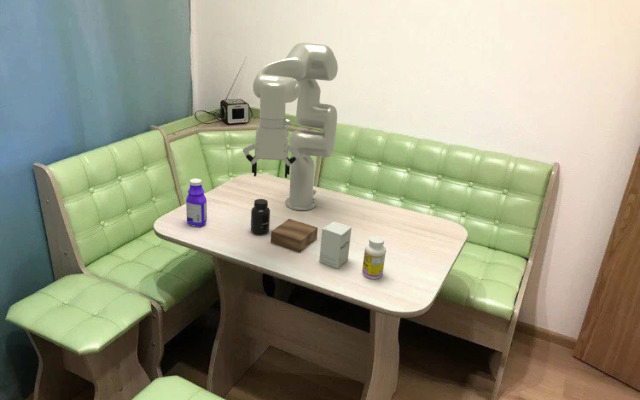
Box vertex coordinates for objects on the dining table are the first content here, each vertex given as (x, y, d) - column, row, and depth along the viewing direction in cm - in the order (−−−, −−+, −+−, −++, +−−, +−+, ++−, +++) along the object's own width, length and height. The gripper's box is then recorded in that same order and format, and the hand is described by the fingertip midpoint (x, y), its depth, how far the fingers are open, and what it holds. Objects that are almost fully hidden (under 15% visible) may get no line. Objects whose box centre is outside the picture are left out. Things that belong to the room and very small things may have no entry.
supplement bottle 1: (266, 236, 177) (267, 206, 172) (248, 233, 178) (248, 203, 173) (271, 228, 183) (272, 199, 178) (254, 225, 184) (254, 196, 179)
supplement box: (337, 269, 160) (341, 235, 155) (318, 261, 163) (321, 228, 158) (348, 260, 166) (352, 226, 161) (330, 253, 169) (332, 220, 164)
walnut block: (288, 230, 183) (289, 218, 181) (316, 239, 178) (317, 227, 176) (270, 243, 173) (271, 231, 171) (300, 253, 168) (300, 240, 166)
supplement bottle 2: (360, 268, 162) (364, 233, 156) (380, 268, 162) (385, 234, 157) (363, 279, 156) (368, 244, 150) (384, 280, 156) (389, 244, 151)
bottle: (209, 222, 184) (208, 179, 177) (202, 228, 179) (200, 184, 172) (192, 218, 185) (190, 175, 178) (184, 225, 180) (182, 181, 173)
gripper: (300, 120, 152) (297, 172, 159) (244, 117, 150) (243, 170, 157) (301, 127, 145) (298, 181, 152) (242, 124, 144) (241, 178, 151)
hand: (270, 175), depth 155 cm, fingers open, 9 cm apart
